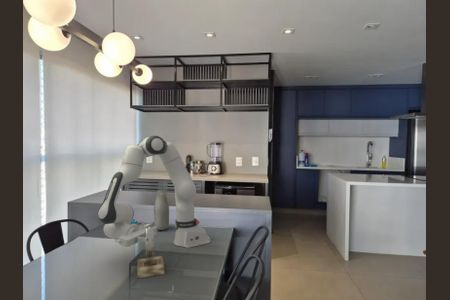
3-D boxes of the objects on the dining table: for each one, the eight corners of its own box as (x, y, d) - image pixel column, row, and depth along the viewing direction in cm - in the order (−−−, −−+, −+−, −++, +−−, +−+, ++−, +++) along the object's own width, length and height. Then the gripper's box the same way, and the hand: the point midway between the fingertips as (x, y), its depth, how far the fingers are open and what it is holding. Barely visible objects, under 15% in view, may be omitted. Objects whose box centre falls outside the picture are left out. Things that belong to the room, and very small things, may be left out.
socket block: (162, 262, 133) (162, 255, 133) (164, 273, 122) (164, 266, 121) (137, 266, 129) (137, 259, 129) (137, 278, 118) (137, 270, 118)
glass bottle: (164, 226, 190) (163, 188, 189) (171, 229, 182) (171, 190, 181) (151, 229, 183) (151, 190, 182) (159, 233, 175) (158, 192, 174)
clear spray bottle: (152, 251, 129) (151, 220, 129) (158, 252, 127) (158, 221, 127) (141, 257, 123) (140, 225, 122) (147, 258, 121) (147, 226, 120)
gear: (130, 231, 174) (125, 219, 178) (126, 236, 176) (120, 224, 180) (144, 229, 183) (138, 217, 188) (139, 234, 185) (134, 222, 190)
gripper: (112, 233, 121) (134, 238, 115) (144, 221, 139) (164, 225, 133) (113, 247, 121) (134, 252, 115) (144, 233, 140) (164, 237, 133)
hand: (151, 238), depth 124 cm, fingers closed on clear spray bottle, 4 cm apart
